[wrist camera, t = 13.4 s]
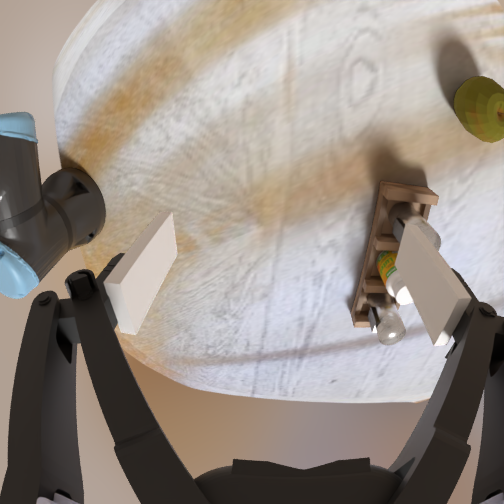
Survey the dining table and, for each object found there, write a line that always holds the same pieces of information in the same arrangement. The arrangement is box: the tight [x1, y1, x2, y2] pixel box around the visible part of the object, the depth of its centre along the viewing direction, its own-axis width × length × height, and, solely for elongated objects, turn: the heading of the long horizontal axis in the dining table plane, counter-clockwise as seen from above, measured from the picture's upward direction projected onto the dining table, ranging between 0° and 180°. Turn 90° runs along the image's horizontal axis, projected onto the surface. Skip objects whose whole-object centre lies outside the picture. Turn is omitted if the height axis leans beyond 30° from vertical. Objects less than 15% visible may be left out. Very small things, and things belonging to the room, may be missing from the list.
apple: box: [454, 76, 504, 143], centre depth 28 cm, size 10×10×11 cm
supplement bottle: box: [376, 250, 413, 305], centre depth 43 cm, size 5×5×10 cm
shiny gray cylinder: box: [388, 202, 441, 251], centre depth 39 cm, size 5×5×10 cm
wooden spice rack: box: [351, 181, 439, 327], centre depth 47 cm, size 9×27×4 cm, turn 179°
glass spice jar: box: [367, 293, 406, 345], centre depth 48 cm, size 5×5×10 cm
